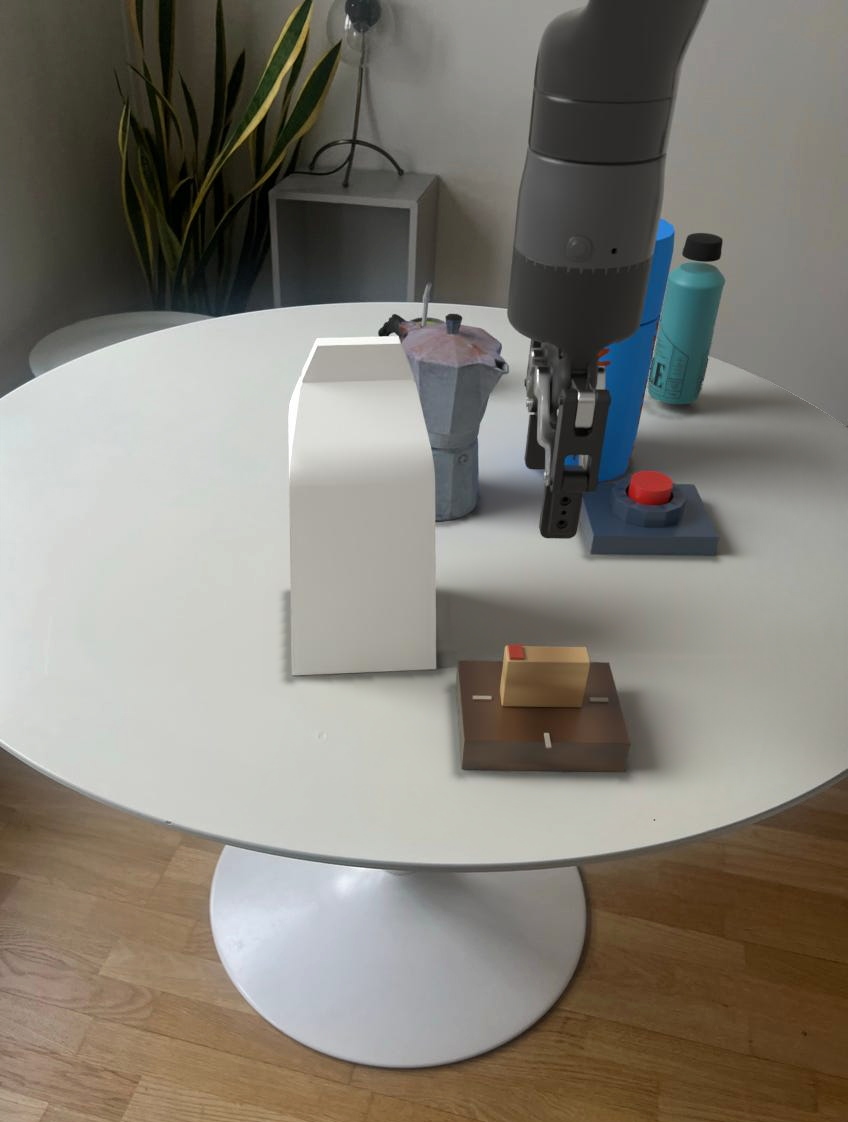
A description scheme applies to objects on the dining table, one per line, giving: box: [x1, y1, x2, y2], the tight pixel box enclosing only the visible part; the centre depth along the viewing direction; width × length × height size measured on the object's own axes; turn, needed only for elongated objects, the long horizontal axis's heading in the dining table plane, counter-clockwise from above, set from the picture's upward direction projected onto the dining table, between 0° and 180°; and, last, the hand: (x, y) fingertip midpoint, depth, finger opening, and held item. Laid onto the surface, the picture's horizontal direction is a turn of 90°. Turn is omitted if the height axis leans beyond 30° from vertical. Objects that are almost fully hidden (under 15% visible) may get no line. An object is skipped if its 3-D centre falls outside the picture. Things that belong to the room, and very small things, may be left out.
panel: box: [455, 659, 632, 773], centre depth 74 cm, size 12×10×3 cm
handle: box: [500, 643, 591, 707], centre depth 71 cm, size 6×2×5 cm, turn 89°
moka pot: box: [377, 313, 510, 522], centre depth 95 cm, size 10×15×20 cm, turn 53°
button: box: [628, 470, 674, 505], centre depth 94 cm, size 4×4×2 cm
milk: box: [287, 335, 437, 676], centre depth 76 cm, size 12×12×26 cm
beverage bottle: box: [646, 232, 726, 405], centre depth 112 cm, size 6×7×20 cm
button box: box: [579, 475, 720, 557], centre depth 96 cm, size 12×10×4 cm
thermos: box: [564, 217, 676, 483], centre depth 100 cm, size 11×11×25 cm
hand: (548, 499), depth 62 cm, fingers open, 8 cm apart
